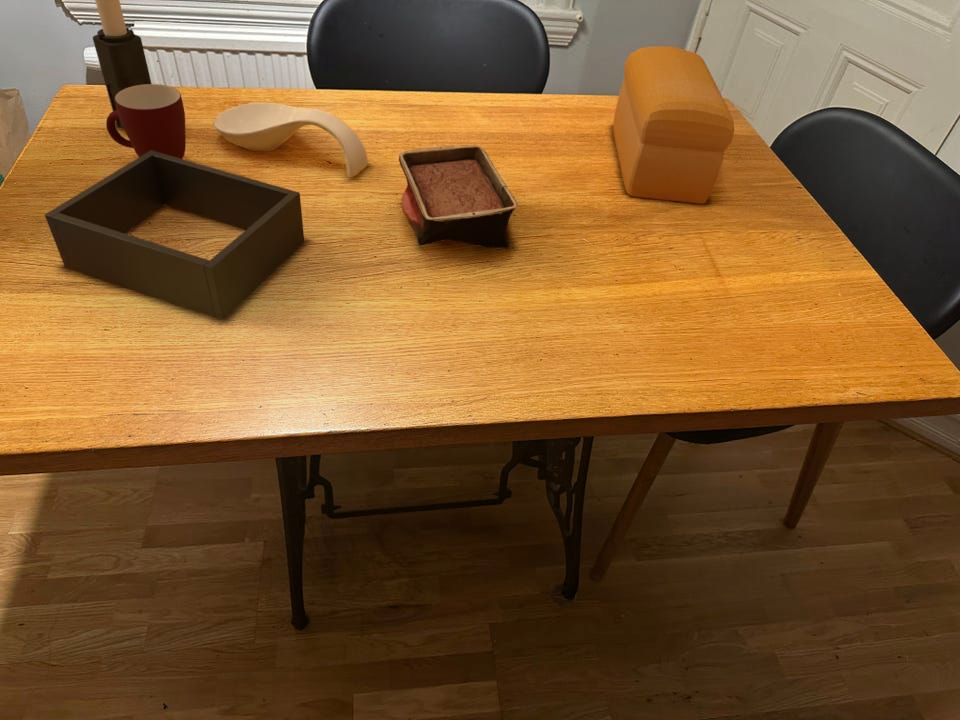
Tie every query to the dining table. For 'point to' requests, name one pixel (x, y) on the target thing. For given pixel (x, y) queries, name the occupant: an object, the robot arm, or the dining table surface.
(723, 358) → the dining table surface
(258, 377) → the dining table surface
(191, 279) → the dark rectangular frame
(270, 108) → the spoon rest
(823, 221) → the dining table surface
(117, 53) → the candle
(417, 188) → the baking dish
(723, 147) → the bread
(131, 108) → the mug
